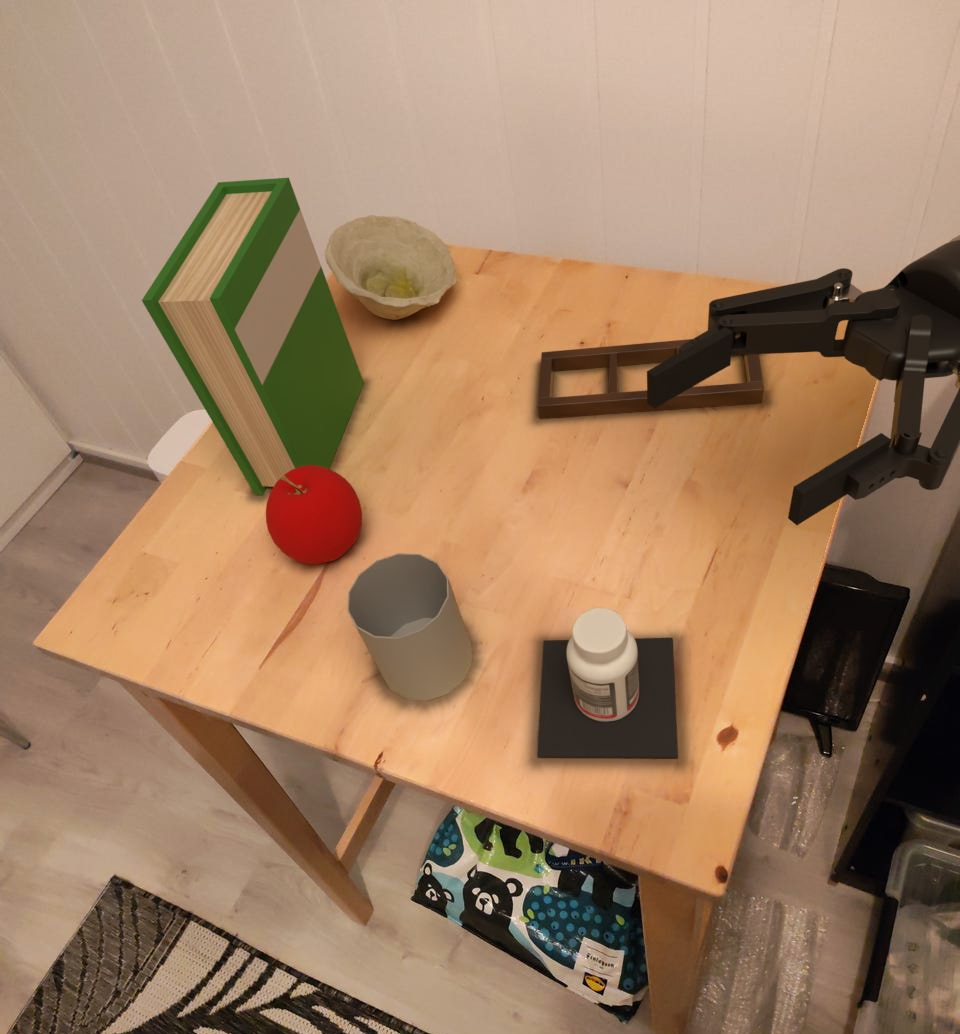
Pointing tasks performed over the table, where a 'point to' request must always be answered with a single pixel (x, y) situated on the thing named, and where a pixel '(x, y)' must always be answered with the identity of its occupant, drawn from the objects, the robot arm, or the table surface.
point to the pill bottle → (603, 665)
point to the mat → (626, 738)
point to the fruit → (313, 514)
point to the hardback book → (258, 330)
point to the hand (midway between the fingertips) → (716, 444)
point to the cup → (411, 625)
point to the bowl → (390, 264)
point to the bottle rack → (636, 399)
